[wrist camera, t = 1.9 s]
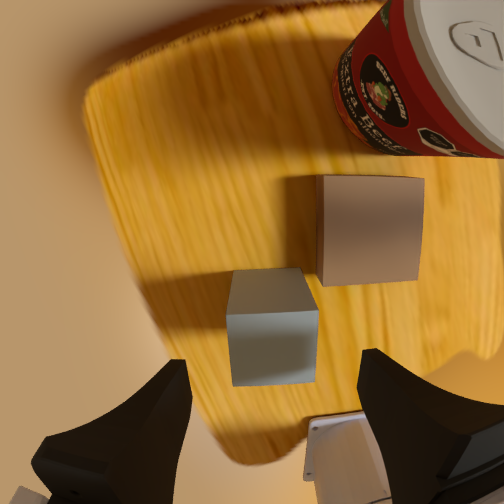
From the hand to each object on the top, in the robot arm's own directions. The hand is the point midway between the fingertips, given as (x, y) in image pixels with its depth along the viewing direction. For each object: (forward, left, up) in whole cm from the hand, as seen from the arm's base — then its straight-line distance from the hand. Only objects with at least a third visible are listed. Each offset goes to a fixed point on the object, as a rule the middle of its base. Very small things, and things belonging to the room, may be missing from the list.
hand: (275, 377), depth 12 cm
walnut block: (+4, -6, -8) cm, 11 cm away
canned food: (+12, -8, -8) cm, 17 cm away
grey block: (0, 0, -8) cm, 8 cm away
